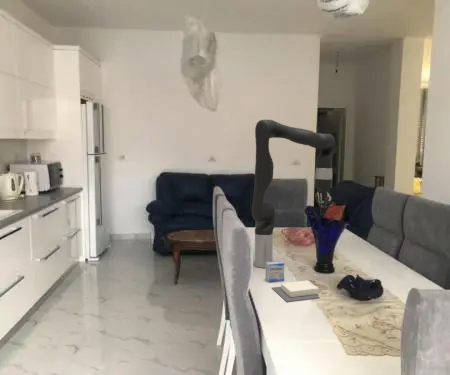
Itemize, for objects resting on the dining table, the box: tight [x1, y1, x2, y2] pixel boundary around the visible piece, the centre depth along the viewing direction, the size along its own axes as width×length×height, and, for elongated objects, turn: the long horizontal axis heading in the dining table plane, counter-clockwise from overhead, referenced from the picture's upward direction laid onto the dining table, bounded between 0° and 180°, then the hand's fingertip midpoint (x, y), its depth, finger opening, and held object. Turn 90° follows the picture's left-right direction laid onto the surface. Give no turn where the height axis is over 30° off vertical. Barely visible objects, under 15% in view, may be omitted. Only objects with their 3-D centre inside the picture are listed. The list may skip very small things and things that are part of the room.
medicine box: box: [264, 260, 285, 283], centre depth 194 cm, size 8×4×9 cm, turn 105°
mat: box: [271, 286, 320, 303], centre depth 178 cm, size 16×15×1 cm
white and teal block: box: [280, 280, 320, 297], centre depth 178 cm, size 10×3×13 cm
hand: (322, 215), depth 190 cm, fingers closed
